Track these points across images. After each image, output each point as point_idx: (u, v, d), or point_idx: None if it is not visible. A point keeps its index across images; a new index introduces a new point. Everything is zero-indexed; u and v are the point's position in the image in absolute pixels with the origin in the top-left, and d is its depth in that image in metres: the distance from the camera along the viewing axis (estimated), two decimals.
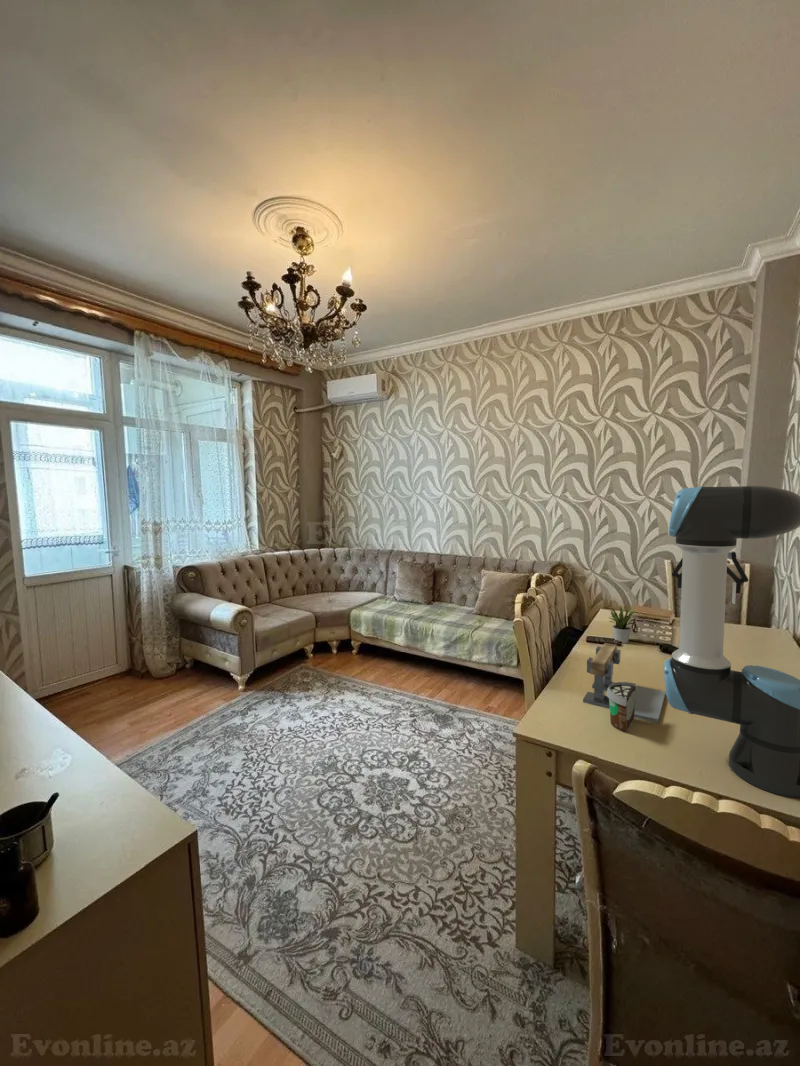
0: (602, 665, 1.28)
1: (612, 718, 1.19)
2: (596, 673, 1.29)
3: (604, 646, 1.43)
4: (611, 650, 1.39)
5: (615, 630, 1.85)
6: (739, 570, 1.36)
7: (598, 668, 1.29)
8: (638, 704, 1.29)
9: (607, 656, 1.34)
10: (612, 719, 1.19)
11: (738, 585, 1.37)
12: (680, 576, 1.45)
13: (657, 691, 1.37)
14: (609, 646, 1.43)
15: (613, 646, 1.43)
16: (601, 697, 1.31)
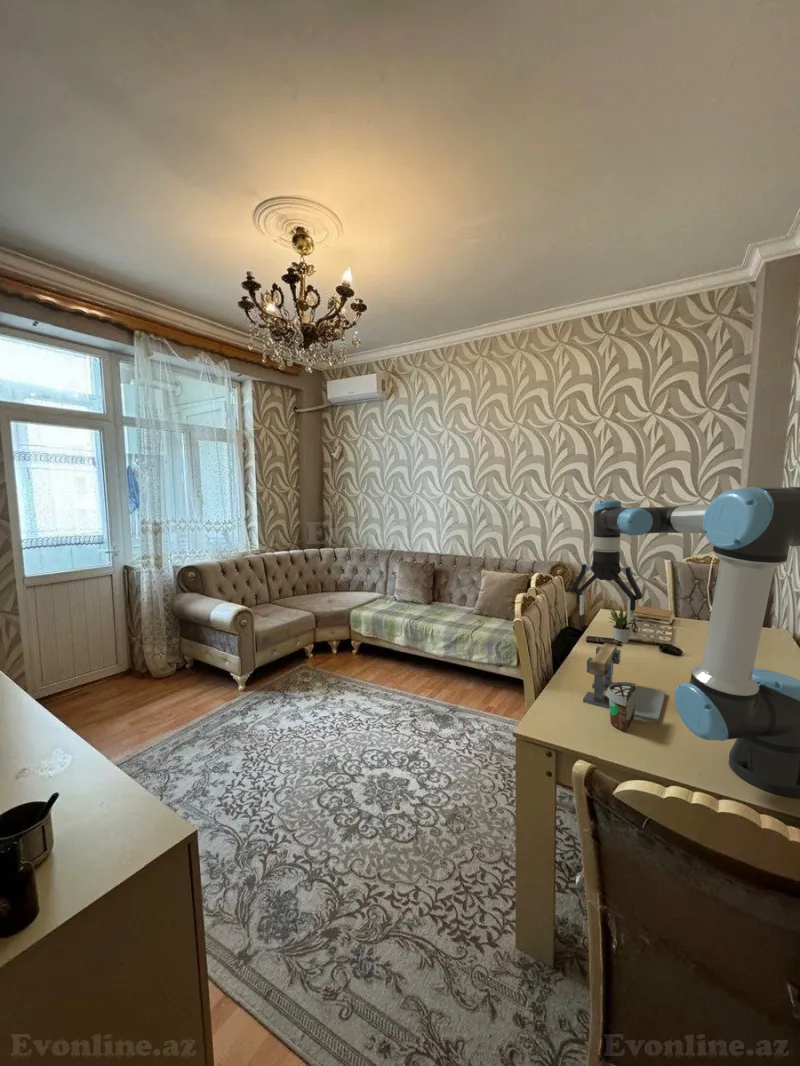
0: (602, 665, 1.28)
1: (612, 718, 1.19)
2: (596, 673, 1.29)
3: (604, 646, 1.43)
4: (611, 650, 1.39)
5: (615, 630, 1.85)
6: (633, 587, 1.30)
7: (598, 668, 1.29)
8: (638, 704, 1.29)
9: (607, 656, 1.34)
10: (612, 719, 1.19)
11: (632, 602, 1.30)
12: (578, 592, 1.39)
13: (657, 691, 1.37)
14: (609, 646, 1.43)
15: (613, 646, 1.43)
16: (601, 697, 1.31)
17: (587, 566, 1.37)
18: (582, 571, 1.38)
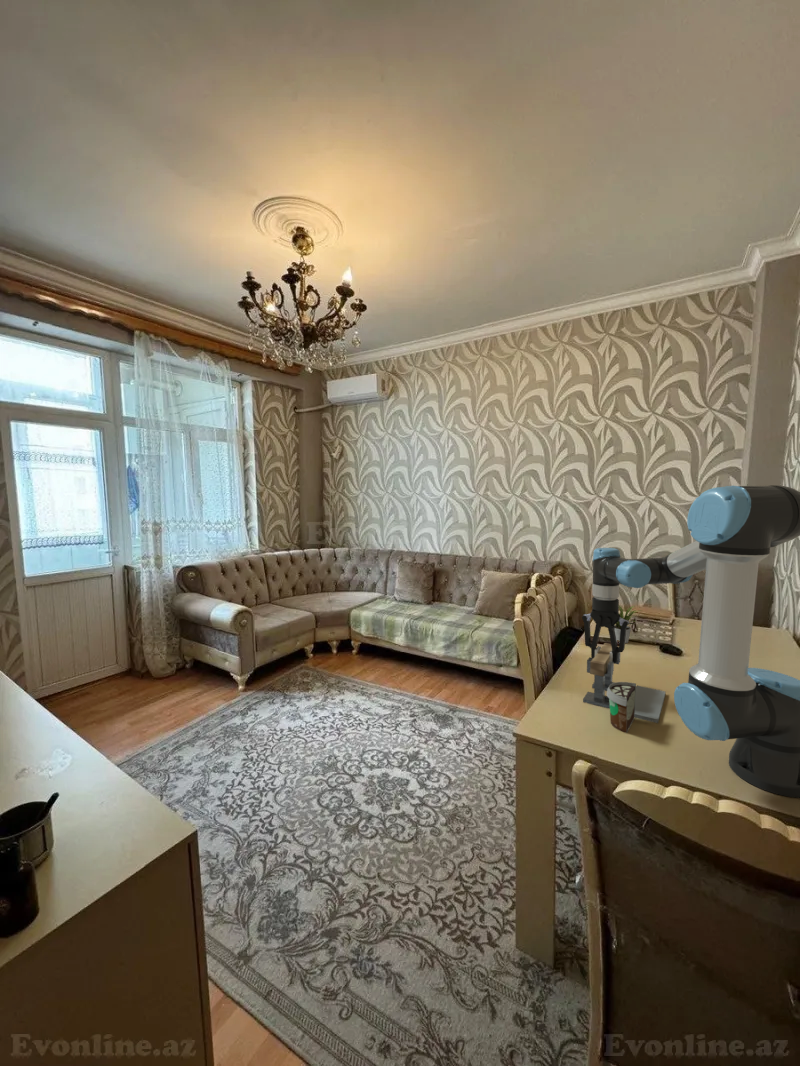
0: (602, 665, 1.28)
1: (612, 718, 1.19)
2: (596, 673, 1.29)
3: (604, 646, 1.43)
4: None
5: (615, 630, 1.85)
6: (621, 639, 1.33)
7: (598, 668, 1.29)
8: (638, 704, 1.29)
9: (607, 656, 1.34)
10: (612, 719, 1.19)
11: (614, 654, 1.34)
12: (593, 646, 1.38)
13: (657, 691, 1.37)
14: (609, 646, 1.43)
15: None
16: (601, 697, 1.31)
17: (587, 616, 1.39)
18: (585, 622, 1.38)
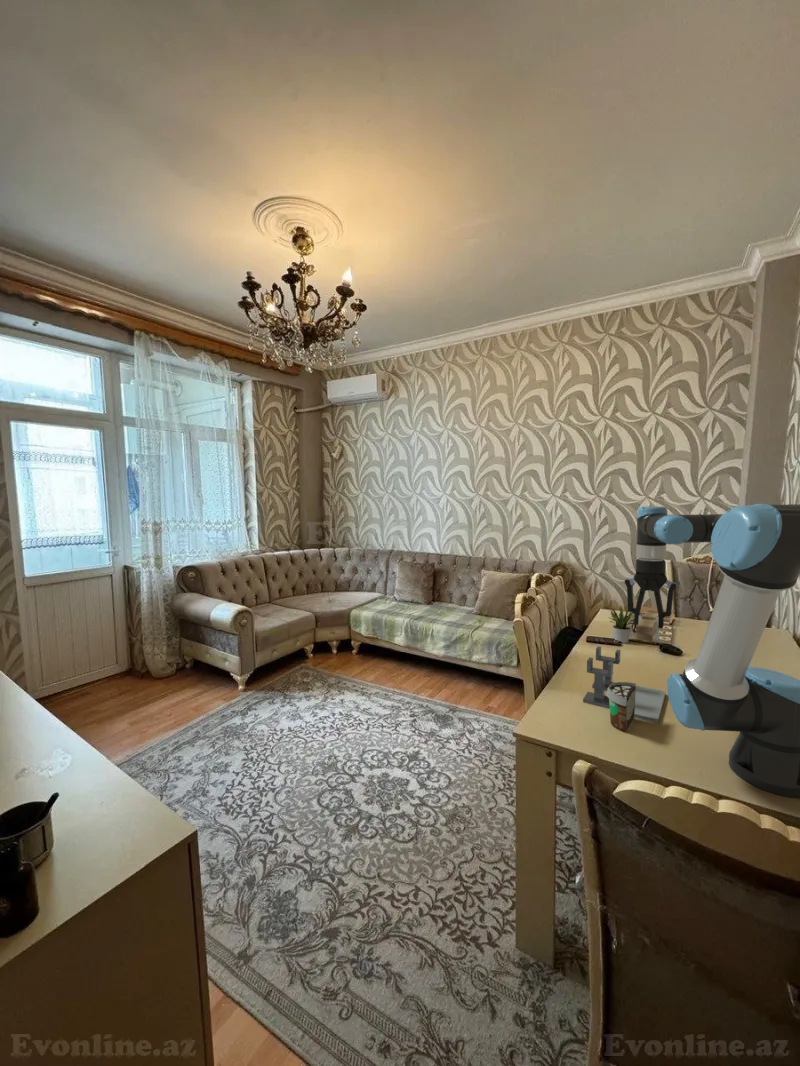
0: (650, 629, 1.20)
1: (612, 718, 1.19)
2: (643, 638, 1.21)
3: (647, 613, 1.35)
4: (655, 616, 1.31)
5: (615, 630, 1.85)
6: (668, 603, 1.24)
7: (645, 632, 1.21)
8: (638, 704, 1.29)
9: (653, 621, 1.26)
10: (612, 719, 1.19)
11: (661, 619, 1.26)
12: (636, 612, 1.29)
13: (657, 691, 1.37)
14: (652, 613, 1.35)
15: (656, 613, 1.35)
16: (601, 697, 1.31)
17: (630, 579, 1.30)
18: (628, 586, 1.30)
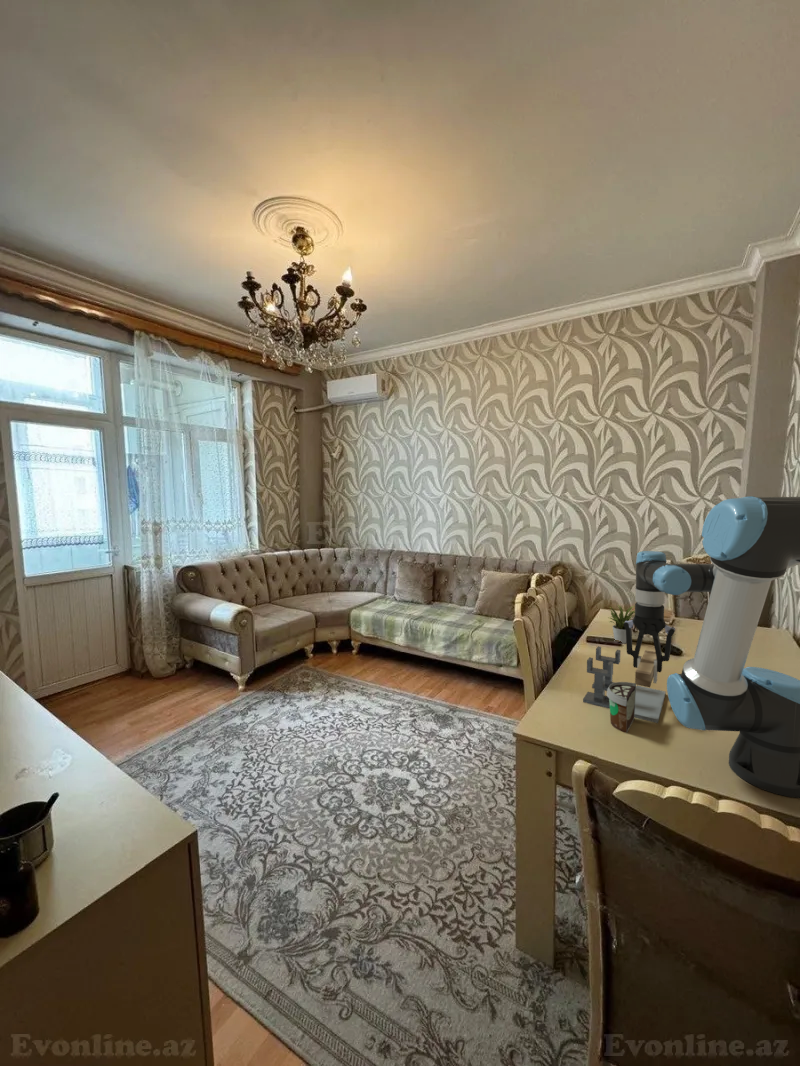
0: (648, 675, 1.21)
1: (612, 718, 1.19)
2: (642, 684, 1.22)
3: (645, 654, 1.36)
4: (654, 658, 1.32)
5: (615, 630, 1.85)
6: (666, 648, 1.26)
7: (644, 678, 1.22)
8: (638, 704, 1.29)
9: (651, 665, 1.27)
10: (612, 719, 1.19)
11: (659, 663, 1.28)
12: (635, 655, 1.31)
13: (657, 691, 1.37)
14: (651, 654, 1.36)
15: (655, 654, 1.36)
16: (601, 697, 1.31)
17: (629, 622, 1.32)
18: (627, 629, 1.31)
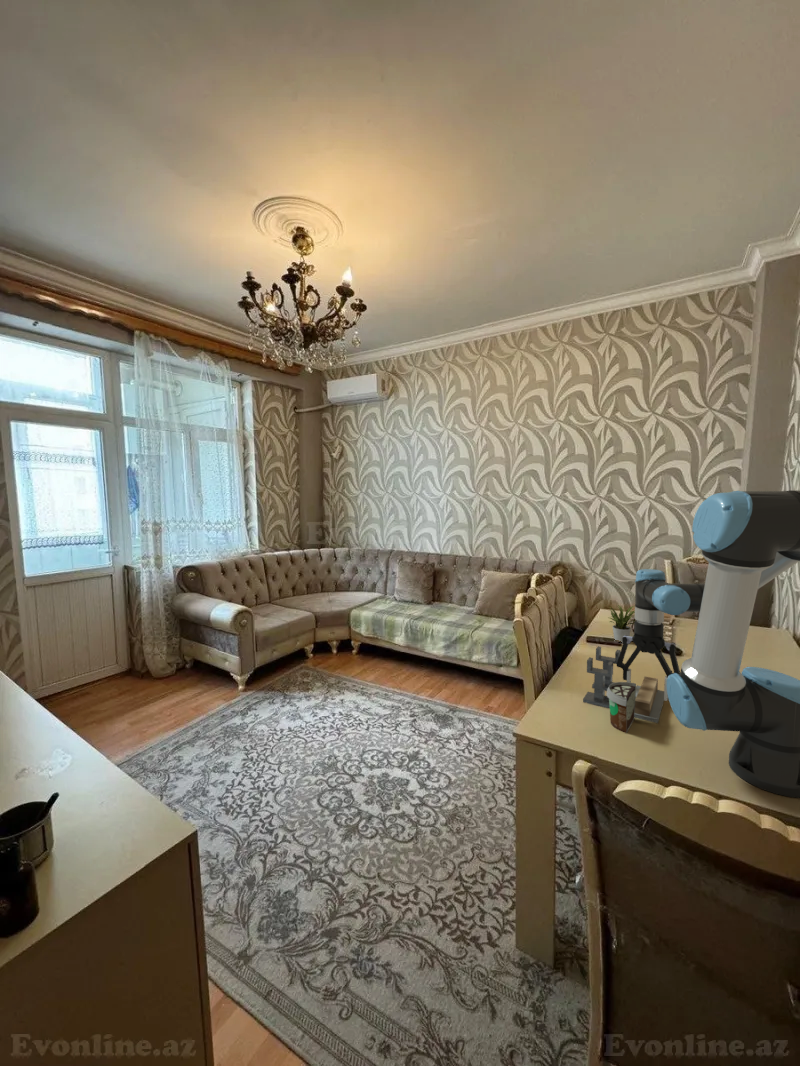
0: (647, 705, 1.22)
1: (612, 718, 1.19)
2: (641, 713, 1.23)
3: (645, 680, 1.37)
4: (653, 686, 1.33)
5: (615, 630, 1.85)
6: (673, 665, 1.25)
7: (643, 707, 1.22)
8: None
9: (651, 693, 1.28)
10: (612, 719, 1.19)
11: None
12: (625, 668, 1.32)
13: (657, 691, 1.37)
14: (650, 680, 1.37)
15: (654, 680, 1.36)
16: (601, 697, 1.31)
17: (628, 638, 1.32)
18: (624, 644, 1.32)
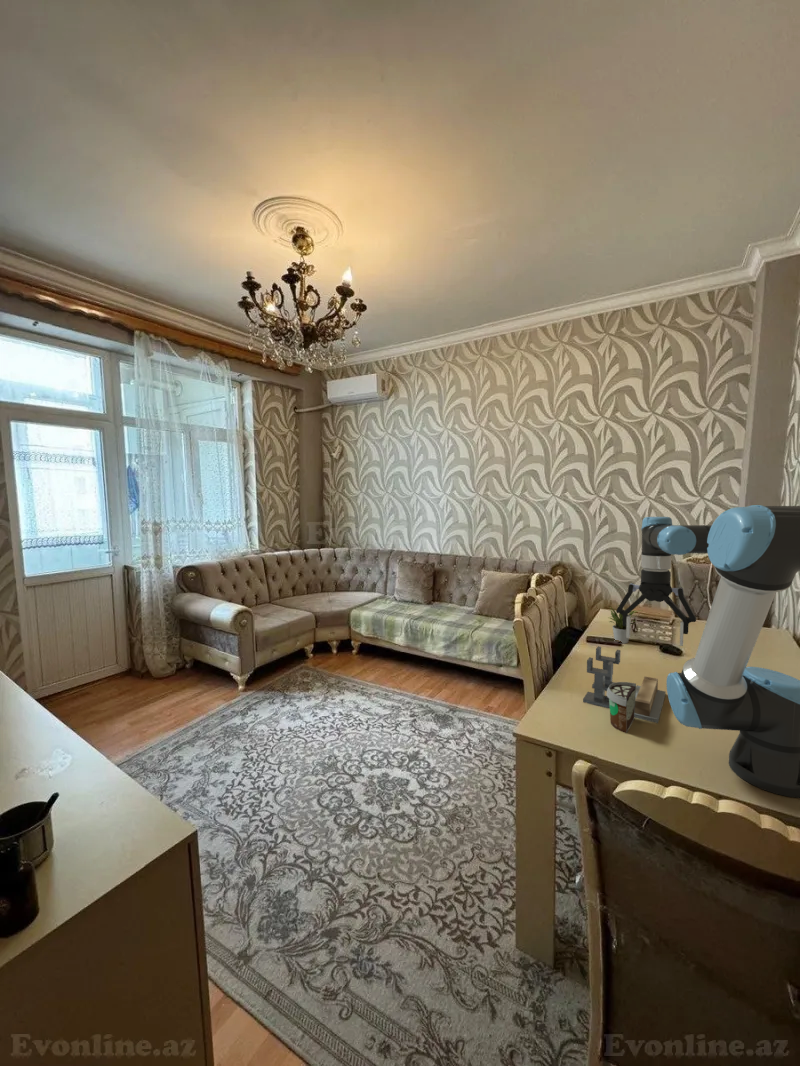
0: (647, 705, 1.22)
1: (612, 718, 1.19)
2: (641, 713, 1.23)
3: (645, 680, 1.37)
4: (653, 686, 1.33)
5: (615, 630, 1.85)
6: (686, 608, 1.22)
7: (643, 707, 1.22)
8: None
9: (651, 693, 1.28)
10: (612, 719, 1.19)
11: (686, 625, 1.23)
12: (625, 613, 1.31)
13: (657, 691, 1.37)
14: (650, 680, 1.37)
15: (654, 680, 1.36)
16: (601, 697, 1.31)
17: (634, 586, 1.30)
18: (629, 591, 1.30)
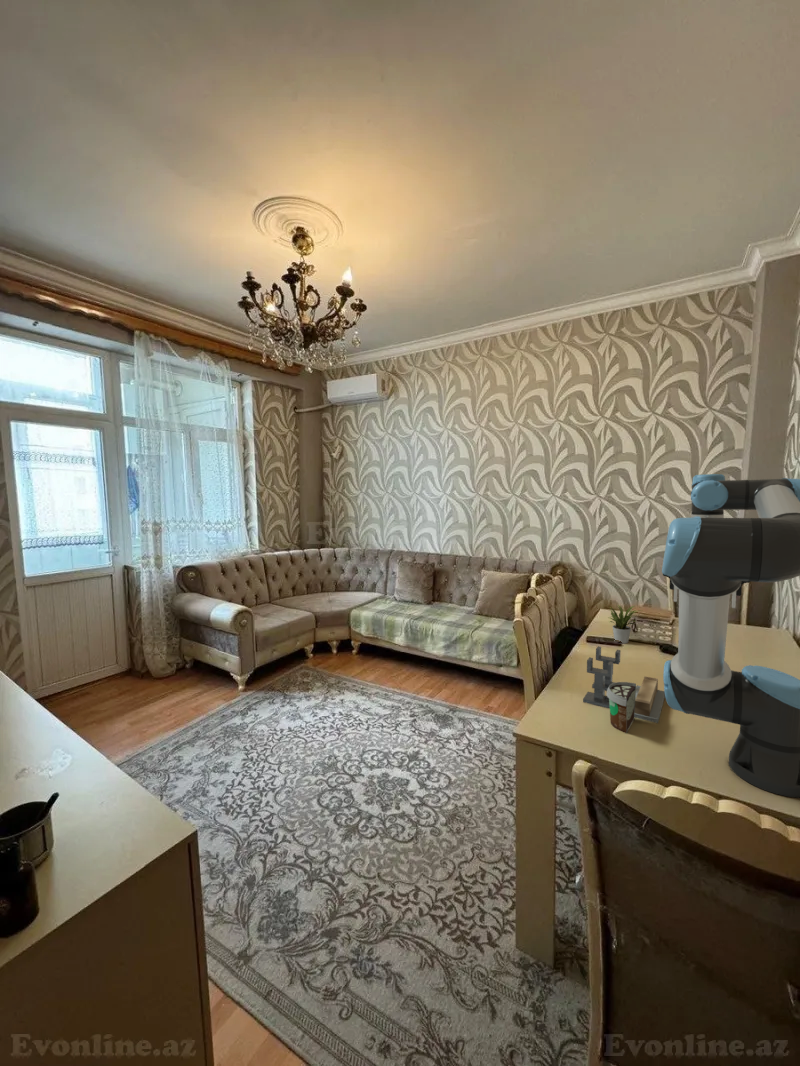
0: (647, 705, 1.22)
1: (612, 718, 1.19)
2: (641, 713, 1.23)
3: (645, 680, 1.37)
4: (653, 686, 1.33)
5: (615, 630, 1.85)
6: None
7: (643, 707, 1.22)
8: None
9: (651, 693, 1.28)
10: (612, 719, 1.19)
11: (739, 586, 1.18)
12: None
13: (657, 691, 1.37)
14: (650, 680, 1.37)
15: (654, 680, 1.36)
16: (601, 697, 1.31)
17: None
18: None
